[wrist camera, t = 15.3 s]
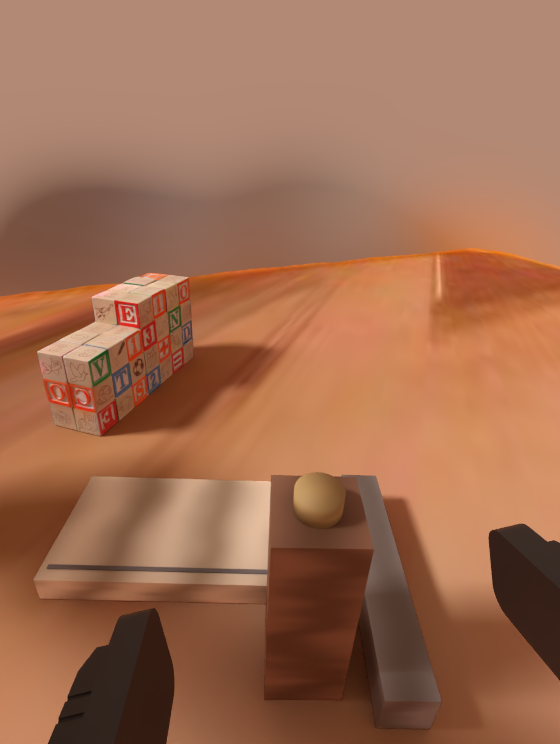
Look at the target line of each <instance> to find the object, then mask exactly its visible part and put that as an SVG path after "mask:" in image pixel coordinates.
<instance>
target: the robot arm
mask: <svg viewBox="0 0 560 744" xmlns="http://www.w3.org/2000/svg"><path fill="white" fill-rule="evenodd" d="M489 548H490V560H491V571H492V582H493V589H494V592H495V596H496V598H497V601H498V603H499V605H500V607H501V609H502V610H503V612H504V613H505V615H506V616H507V617H508V618H509V620H510V621H511V622H512V623H513V625H514V626H515V627H516V628H517V629H518V631H519V632H520V633H521V634H522V635H523V637H524V638H525V639H526V640H527V641H528V643H529V644H530V645H531V646H532V647H533V649H534V650H535V651H536V652H537V654H538V655H539V656H540V657H541V658H542V660H543V661H544V662H545V663H546V664H547V666H548V667H549V668H550V669H551V670H552V672H553V673H554V674H555V675H556V676H557V678H558V679H559V680H560V543H559V542H557V541H554V540H553V541H549V542H547V541H546V540H544V539H543V538H542V537H541V536H539V535H538V534H537V533H536V532H535V531H533V530H532V529H531V528H530V527H528V526H527V525H525V524H517V525H513V526H508V527H504V528H500V529H495V530H492V531H490V533H489ZM173 697H174V670H173V664H172V660H171V656H170V653H169V650H168V646H167V643H166V639H165V636H164V632H163V629H162V625H161V622H160V618H159V615H158V612H157V611H156V609H155V608H152V609H148V610H144V611H139V612H135V613H131V614H127V615H122V616H120V617H119V619H118V621H117V624H116V626H115V629H114V632H113V635H112V637H111V640H110V643H109V645H106V646H101V647H97V648H96V649H95V650H94V652H93V653H92V654H91V656H90V657H89V658H88V659H87V661H86V662H85V663H84V664H83V666H82V667H81V668H80V670H79V671H78V673H77V675H76V678H75V680H74V682H73V685H72V687H71V690H70V692H69V694H68V701H67V702H65V704H64V706H63V709H62V711H61V714H60V716H59V718H58V719H59V722H58V724H56V725H55V728H54V730H53V733H52V735H51V737H50V740H49V742H48V744H166V742H167V735H168V729H169V723H170V716H171V710H172V703H173Z"/></svg>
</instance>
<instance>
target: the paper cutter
mask: <svg viewBox="0 0 560 744" xmlns="http://www.w3.org/2000/svg"><path fill="white" fill-rule="evenodd" d="M342 477H356V479H357V483H358V487H359V491H360V495H361V499H362V503H363V507H364V511H365V515H366V519H367V523H368V527H369V531H370V535H371V539H372V543H373V547H374V552H373V557H372V561H371V566H370V570H369V575H368V580H367V584H366V589H365V593H364V598H363V603H362V607H361V612H360V616H359V627H360V633H361V639H362V645H363V651H364V657H365V663H366V669H367V675H368V681H369V687H370V693H371V699H372V706H373V712H374V718H375V724H376V728H399V729H430V727H431V725H432V723H433V721H434V719H435V716H436V714H437V712H438V710H439V707H440V705H441V703H442V701H441V697H440V694H439V690H438V687H437V684H436V680H435V677H434V673H433V670H432V666H431V663H430V660H429V656H428V653H427V649H426V646H425V642H424V639H423V636H422V632H421V629H420V625H419V622H418V618H417V615H416V612H415V608H414V605H413V601H412V598H411V594H410V591H409V588H408V584H407V581H406V577H405V574H404V570H403V567H402V564H401V560H400V557H399V553H398V550H397V546H396V543H395V540H394V536H393V533H392V529H391V526H390V522H389V519H388V516H387V512H386V509H385V505H384V502H383V498H382V495H381V492H380V488H379V485H378V481H377V478H376V476H362V475H342ZM270 491H271V481H240V480H205V479H171V478H137V477H103V476H92V477H91V479H90V480H89V482H88V484H87V486H86V487H85V489H84V491H83V493H82V495H81V496H80V498H79V500H78V502H77V503H76V505H75V507H74V509H73V510H72V512H71V514H70V516H69V517H68V519H67V521H66V523H65V524H64V526H63V528H62V530H61V532H60V533H59V535H58V537H57V539H56V540H55V542H54V544H53V546H52V547H51V549H50V551H49V553H48V554H47V556H46V558H45V560H44V561H43V563H42V565H41V567H40V569H39V570H38V572H37V574H36V576H35V577H34V579H33V582H34V584H35V587H36V590H37V592H38V595H39V597H40V599H79V600H122V601H165V602H208V603H250V604H266V592H267V567H268V542H269V516H270Z"/></svg>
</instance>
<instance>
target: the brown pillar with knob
mask: <svg viewBox="0 0 560 744" xmlns="http://www.w3.org/2000/svg"><path fill="white" fill-rule="evenodd" d="M373 552H374V547H373V543H372V539H371V535H370V531H369V527H368V523H367V519H366V515H365V511H364V507H363V503H362V499H361V495H360V491H359V487H358V483H357V479H356V477H333V476H331V475H329V474H325V473H318V472H316V473H309V474H305V475H303V476H284V475H271V491H270V516H269V542H268V567H267V592H266V618H265V674H264V700H341V699H342V694H343V690H344V685H345V680H346V676H347V671H348V667H349V662H350V657H351V653H352V648H353V644H354V639H355V635H356V630H357V625H358V621H359V616H360V612H361V607H362V603H363V598H364V593H365V589H366V584H367V580H368V575H369V570H370V566H371V561H372V557H373Z"/></svg>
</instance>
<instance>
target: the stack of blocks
mask: <svg viewBox="0 0 560 744" xmlns="http://www.w3.org/2000/svg"><path fill="white" fill-rule="evenodd" d="M92 302H93V308H94V314H95V321H96V322H94V323H92V324H90V325H88V326H87V327H85V328H83V329H81V330H79V331H76V332H74V333H72V334H70V335H68V336H66V337H64V338H62V339H60V340H59V341H57V342H55V343H53V344H51V345H49V346H47V347H45V348H43V349H41V350H39V351H38V352H37V354H38V358H39V362H40V366H41V371H42V374H43V377H44V378H43V382H44V386H45V390H46V394H47V398H48V401H49V402H50V403H49V404H50V408H51V411H52V415H53V419H54V423H55V425H58V426H62V427H65V428H69V429H74V430H78V431H81V432H85V433H89V434H93V435H98V436H102V435H103V434H104V433H105V432H106V431H107V430H109V429H110V428H111V427H112V426H113V425H114V424H115V423H117V421H120V420H121V419H122V418H123V417H125V416H126V415H127V414H128V413H129V412H130V411H131V410H132V409H133V408H134V407H136V406H137V405H138V404H140V403H141V402H142V401H143V400H144V399H145V398H147V397H148V395H149V394H151V393H152V392H153V391H154V390H155V389H156V388H157V387H159V386H160V385H161V384H162V383H163V382H164V381H165V380H166V379H168V378H169V377H170V376H171V375H172V374H174V373H175V372H176V371H177V370H179V369H180V368H181V367H182V366H183V365H184V364H186V363H187V362H188V361H189V360H190V359H191V358H193V357H194V350H193V338H192V321H191V318H192V315H191V300H190V289H189V278H188V277H181V276H174V275H166V274H157V273H147V274H145V275H143V276H140V277H135V278H132V279H130V280H128V281H125V282H124V284H120V285H117V286H115V287H113V288H111V289H109V290H107V291H104V292H102V293H100V294H97V295H95V296H93V297H92Z"/></svg>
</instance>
